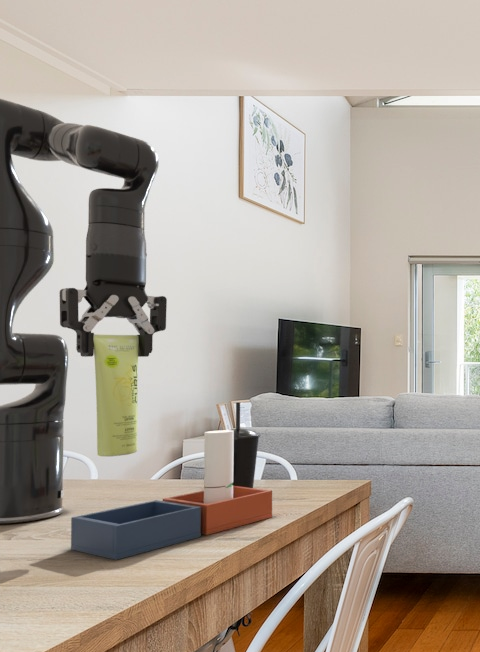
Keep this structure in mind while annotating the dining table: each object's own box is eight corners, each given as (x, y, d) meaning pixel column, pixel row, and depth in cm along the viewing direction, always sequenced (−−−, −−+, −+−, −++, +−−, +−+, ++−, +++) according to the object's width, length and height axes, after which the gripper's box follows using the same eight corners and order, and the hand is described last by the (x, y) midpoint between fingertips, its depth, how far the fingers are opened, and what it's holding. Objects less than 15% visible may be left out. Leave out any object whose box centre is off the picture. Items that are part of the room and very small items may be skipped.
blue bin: (70, 549, 86) (71, 517, 86) (156, 528, 97) (156, 500, 97) (116, 560, 81) (116, 526, 81) (200, 536, 92) (201, 506, 92)
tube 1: (134, 455, 92) (134, 334, 92) (93, 459, 89) (93, 333, 89) (138, 450, 97) (138, 335, 97) (99, 453, 94) (99, 334, 94)
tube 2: (210, 522, 98) (211, 433, 98) (198, 518, 100) (199, 432, 100) (237, 516, 101) (238, 431, 101) (225, 512, 103) (226, 429, 104)
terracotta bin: (162, 527, 97) (162, 498, 98) (229, 510, 108) (229, 485, 108) (206, 535, 93) (206, 505, 93) (272, 517, 104) (272, 490, 104)
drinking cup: (267, 502, 114) (268, 402, 114) (225, 511, 107) (226, 404, 108) (247, 498, 118) (248, 400, 118) (206, 505, 112) (207, 403, 112)
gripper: (151, 263, 102) (150, 357, 101) (48, 249, 88) (47, 356, 88) (178, 260, 99) (177, 356, 98) (75, 245, 85) (74, 356, 85)
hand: (115, 356), depth 93 cm, fingers closed on tube 1, 7 cm apart
